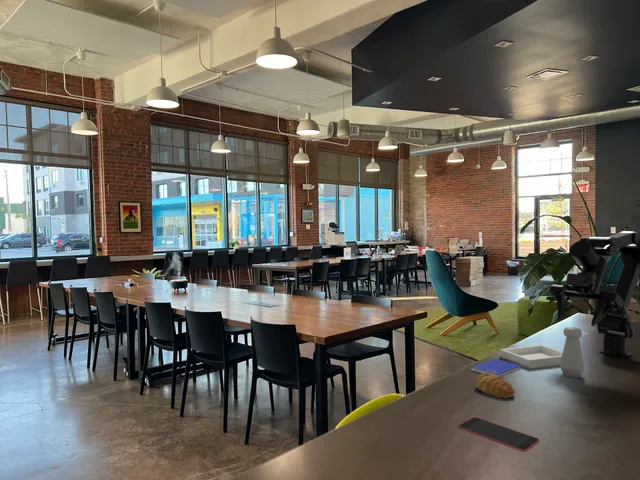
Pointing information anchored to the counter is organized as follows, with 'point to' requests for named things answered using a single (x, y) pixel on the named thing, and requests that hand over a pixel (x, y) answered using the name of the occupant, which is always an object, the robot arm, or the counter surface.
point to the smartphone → (499, 434)
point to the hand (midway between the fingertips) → (575, 322)
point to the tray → (532, 356)
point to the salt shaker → (572, 353)
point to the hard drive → (496, 367)
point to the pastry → (494, 385)
